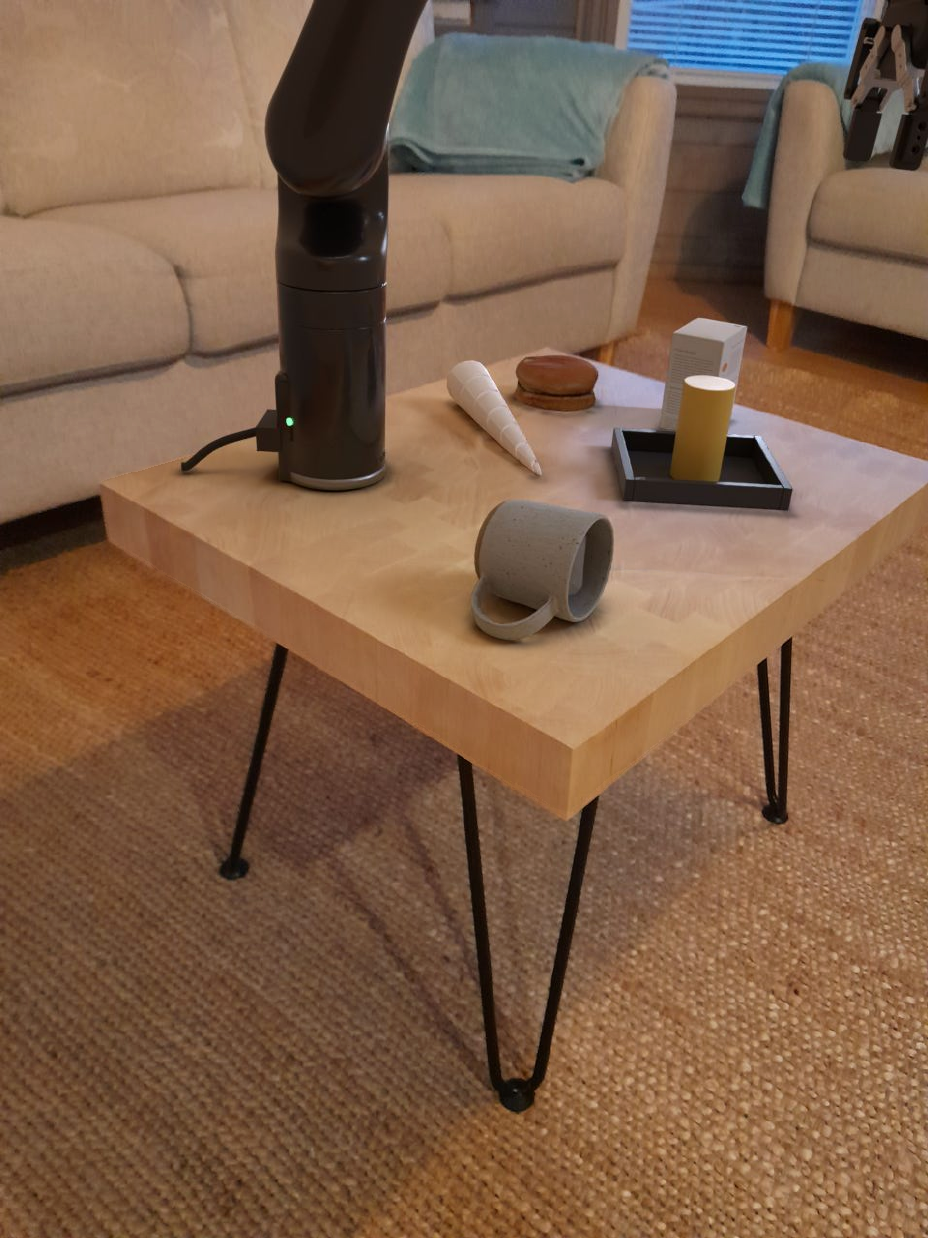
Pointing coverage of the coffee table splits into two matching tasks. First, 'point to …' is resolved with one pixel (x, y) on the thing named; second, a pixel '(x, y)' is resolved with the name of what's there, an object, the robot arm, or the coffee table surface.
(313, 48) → the robot arm
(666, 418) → the small box
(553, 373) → the burger
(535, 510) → the ceramic mug
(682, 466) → the yellow cylinder
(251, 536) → the coffee table surface
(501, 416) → the unicorn horn
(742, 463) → the tray
